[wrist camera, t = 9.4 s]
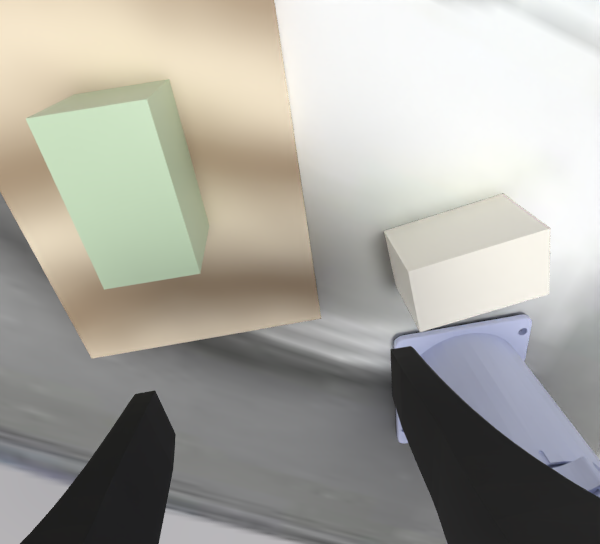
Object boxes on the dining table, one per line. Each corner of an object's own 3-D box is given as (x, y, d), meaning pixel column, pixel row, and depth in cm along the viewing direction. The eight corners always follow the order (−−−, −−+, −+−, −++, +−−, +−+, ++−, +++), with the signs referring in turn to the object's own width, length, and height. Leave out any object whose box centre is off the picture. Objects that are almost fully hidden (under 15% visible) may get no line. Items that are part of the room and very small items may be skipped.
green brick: (209, 225, 19) (200, 273, 16) (130, 238, 19) (103, 289, 15) (169, 79, 16) (146, 98, 12) (74, 94, 16) (25, 118, 12)
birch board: (318, 305, 23) (321, 318, 22) (98, 343, 23) (91, 358, 22) (250, -145, 14) (250, -157, 13) (-124, -83, 14) (-154, -90, 13)
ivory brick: (501, 192, 21) (550, 228, 18) (504, 251, 23) (549, 294, 19) (383, 229, 21) (408, 271, 18) (395, 284, 23) (419, 332, 20)
